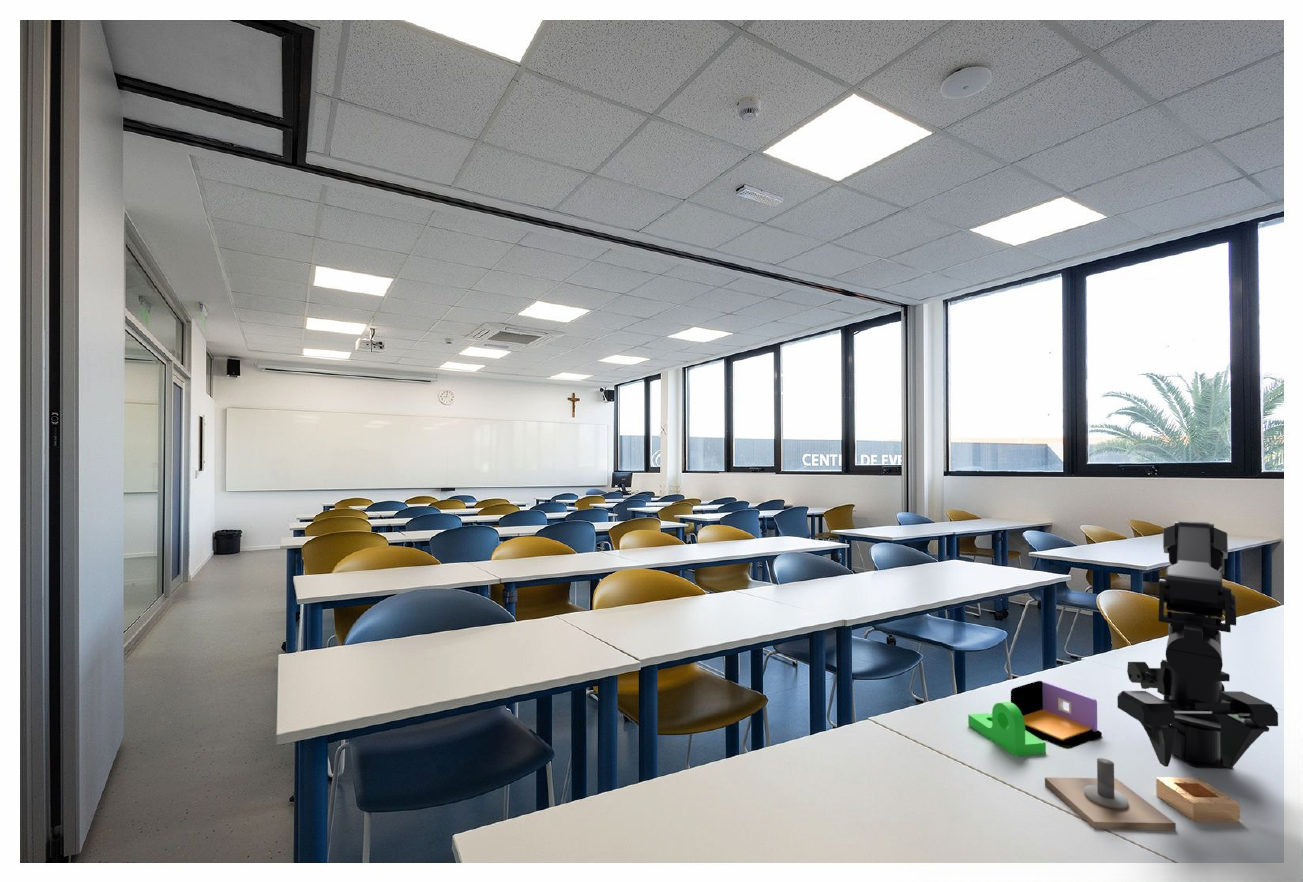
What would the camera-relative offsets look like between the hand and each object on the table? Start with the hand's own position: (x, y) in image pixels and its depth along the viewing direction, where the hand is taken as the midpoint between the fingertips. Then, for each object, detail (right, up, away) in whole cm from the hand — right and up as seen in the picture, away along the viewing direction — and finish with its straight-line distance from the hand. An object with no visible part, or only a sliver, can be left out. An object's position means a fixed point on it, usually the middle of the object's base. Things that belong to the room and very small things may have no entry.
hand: (1195, 765), depth 87 cm
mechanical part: (-15, -7, +22) cm, 28 cm away
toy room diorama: (-4, -7, +25) cm, 27 cm away
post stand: (-13, -7, 0) cm, 15 cm away
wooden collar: (0, -7, 0) cm, 7 cm away
